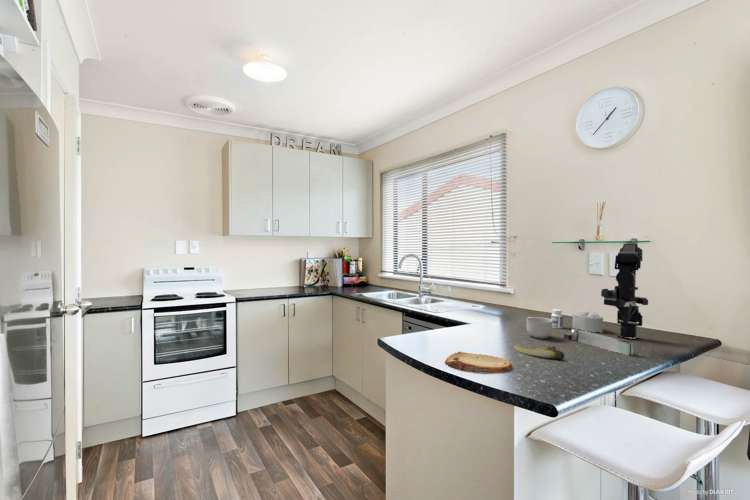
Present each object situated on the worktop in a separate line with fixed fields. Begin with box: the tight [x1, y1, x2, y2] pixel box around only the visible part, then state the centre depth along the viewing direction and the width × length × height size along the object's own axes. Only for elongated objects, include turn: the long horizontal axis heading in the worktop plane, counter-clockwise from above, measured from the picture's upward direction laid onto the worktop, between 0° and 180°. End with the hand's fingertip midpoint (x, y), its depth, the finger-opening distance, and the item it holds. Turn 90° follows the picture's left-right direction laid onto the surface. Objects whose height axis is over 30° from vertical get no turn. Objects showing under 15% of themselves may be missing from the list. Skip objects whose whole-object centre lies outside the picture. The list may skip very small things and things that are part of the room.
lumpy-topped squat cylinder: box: [572, 310, 604, 332], centre depth 174 cm, size 10×13×9 cm
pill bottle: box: [550, 308, 564, 329], centre depth 178 cm, size 5×5×9 cm
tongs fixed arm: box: [563, 328, 631, 356], centre depth 145 cm, size 26×4×4 cm, turn 22°
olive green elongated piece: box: [513, 343, 565, 360], centre depth 133 cm, size 20×10×3 cm, turn 42°
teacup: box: [525, 316, 553, 339], centre depth 160 cm, size 14×11×8 cm
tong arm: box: [583, 331, 634, 356], centre depth 143 cm, size 20×1×4 cm, turn 22°
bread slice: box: [444, 351, 514, 374], centre depth 118 cm, size 18×18×4 cm
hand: (625, 322), depth 142 cm, fingers closed
